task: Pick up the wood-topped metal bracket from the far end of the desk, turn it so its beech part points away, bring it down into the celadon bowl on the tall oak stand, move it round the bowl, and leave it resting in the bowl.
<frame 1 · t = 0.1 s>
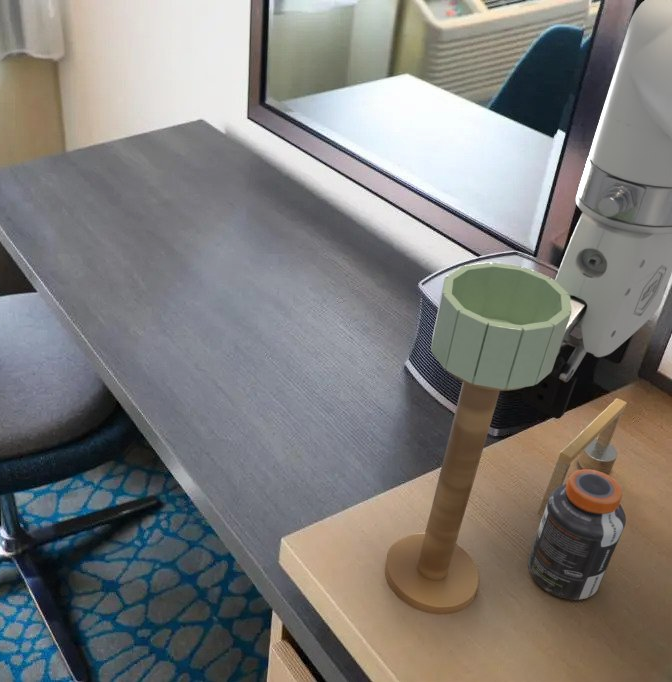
hand: (572, 380, 63), 19 cm above the table, tool pointing down, fingers open, 9 cm apart
pill bottle: (561, 576, 71), on the table
stand: (430, 576, 71), on the table
bowl: (490, 352, 55), resting on stand
wood-topped metal bracket: (594, 463, 81), on the table
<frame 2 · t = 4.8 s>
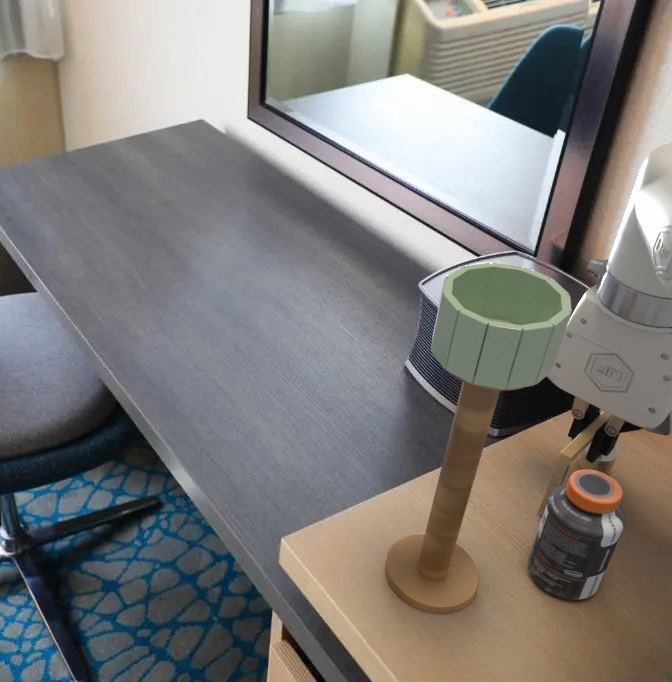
hand: (587, 449, 76), 5 cm above the table, tool pointing down, fingers closed on wood-topped metal bracket
wood-topped metal bracket: (594, 463, 81), on the table, touching gripper
everything else where it was.
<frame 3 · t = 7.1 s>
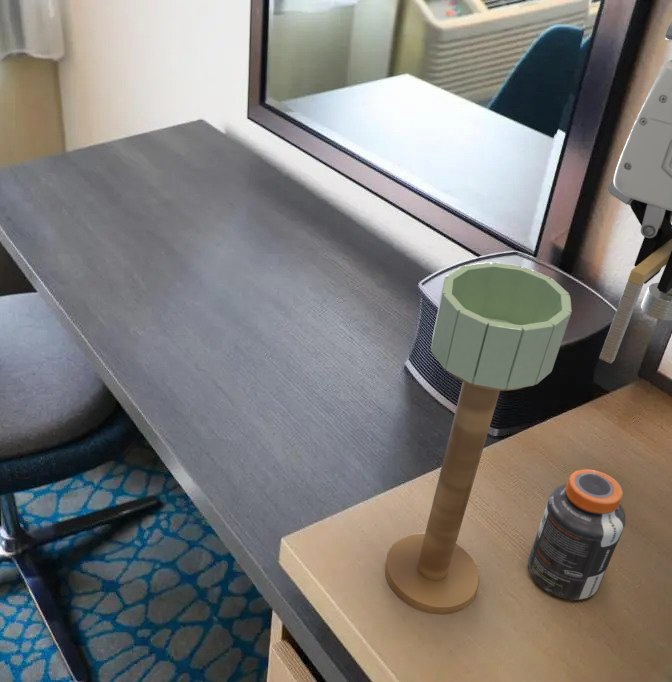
hand: (658, 280, 64), 25 cm above the table, tool pointing down, fingers closed on wood-topped metal bracket
wood-topped metal bracket: (661, 310, 69), point 20 cm above the table, touching gripper
everything else where it was.
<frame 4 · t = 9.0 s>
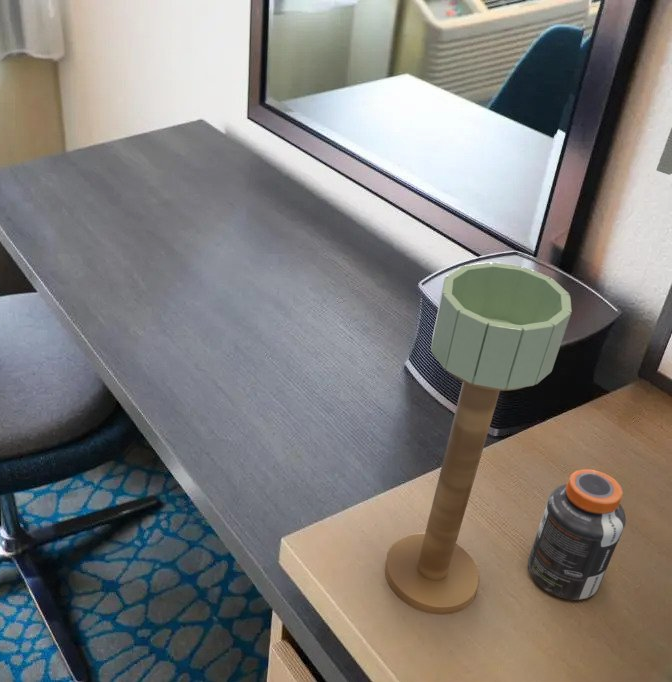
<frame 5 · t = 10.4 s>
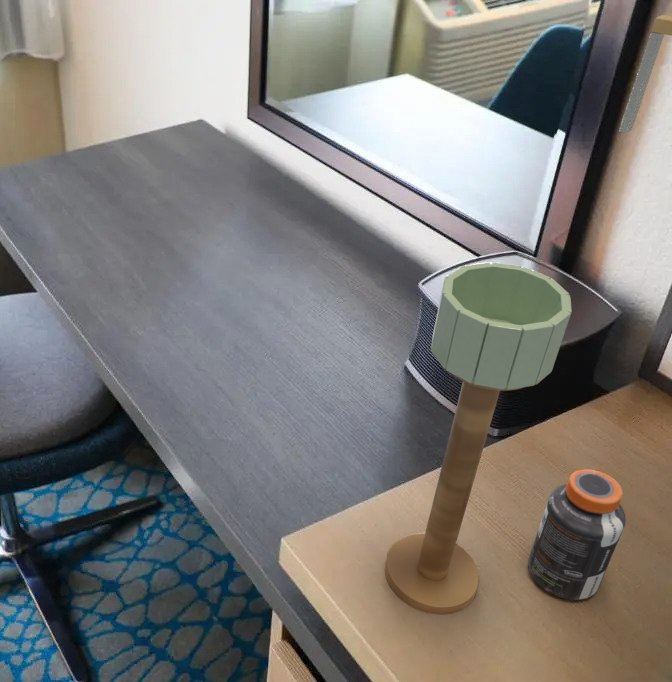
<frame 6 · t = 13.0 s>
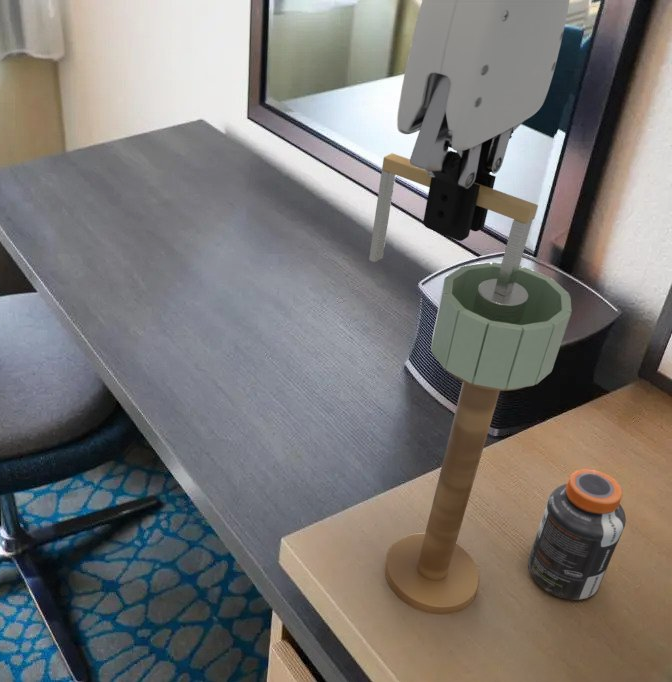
hand: (452, 226, 53), 34 cm above the table, tool pointing down, fingers closed on wood-topped metal bracket
wood-topped metal bracket: (496, 315, 54), point 29 cm above the table, touching gripper
everything else where it was.
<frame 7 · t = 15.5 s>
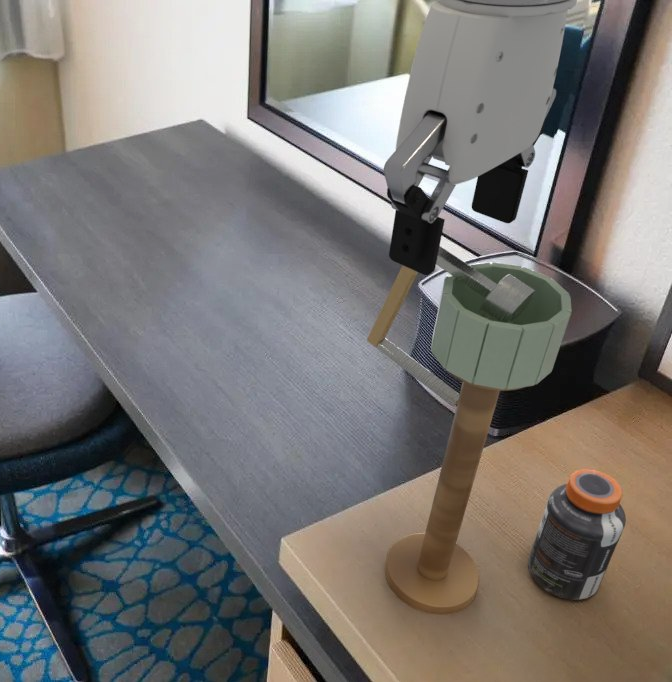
hand: (453, 239, 54), 33 cm above the table, tool pointing down, fingers open, 9 cm apart
wood-topped metal bracket: (519, 310, 52), point 30 cm above the table, tilted 75°, touching bowl
everything else where it was.
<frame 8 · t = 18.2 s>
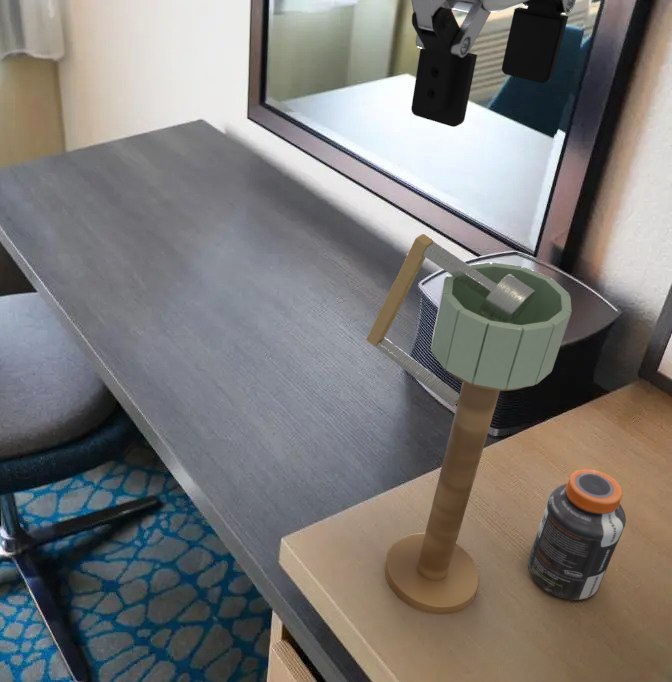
hand: (483, 97, 48), 43 cm above the table, tool pointing down, fingers open, 9 cm apart
nothing on the table moved.
at the end: wood-topped metal bracket 1.2 cm off-centre on the bowl, point 4.2 cm above the bowl's base; the gripper is holding nothing; wood-topped metal bracket moved 38.8 cm from its start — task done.
